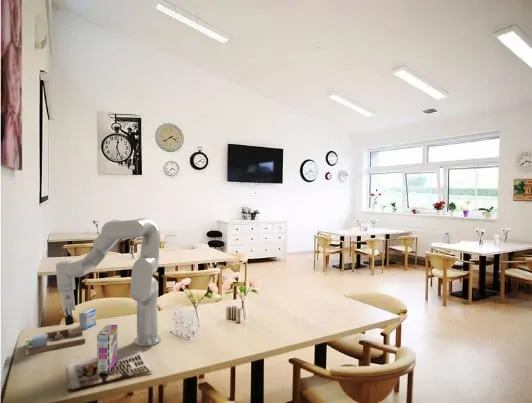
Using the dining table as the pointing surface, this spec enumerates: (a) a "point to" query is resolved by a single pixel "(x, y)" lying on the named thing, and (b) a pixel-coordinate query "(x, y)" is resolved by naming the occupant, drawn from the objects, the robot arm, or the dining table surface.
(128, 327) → the dining table surface
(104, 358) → the candy bar box
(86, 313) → the medicine box
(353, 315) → the dining table surface
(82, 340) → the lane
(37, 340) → the block
